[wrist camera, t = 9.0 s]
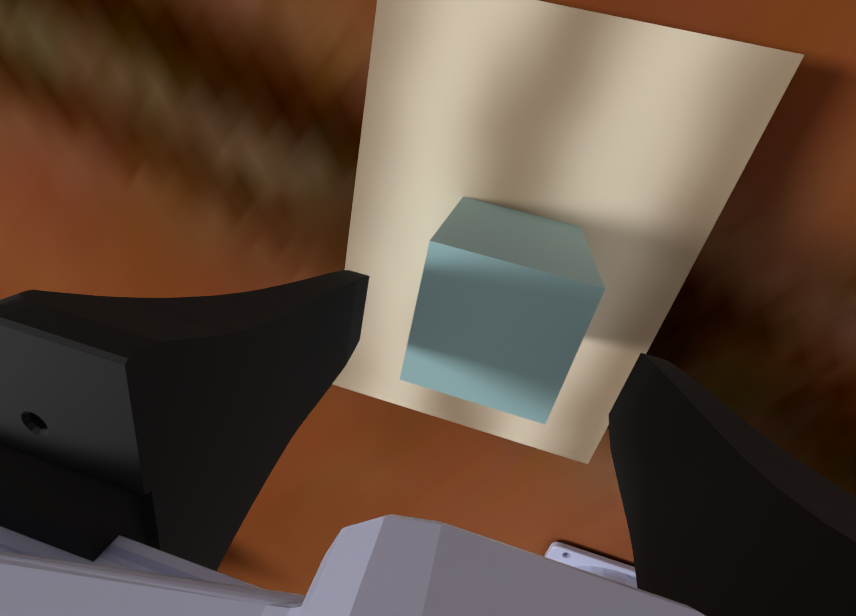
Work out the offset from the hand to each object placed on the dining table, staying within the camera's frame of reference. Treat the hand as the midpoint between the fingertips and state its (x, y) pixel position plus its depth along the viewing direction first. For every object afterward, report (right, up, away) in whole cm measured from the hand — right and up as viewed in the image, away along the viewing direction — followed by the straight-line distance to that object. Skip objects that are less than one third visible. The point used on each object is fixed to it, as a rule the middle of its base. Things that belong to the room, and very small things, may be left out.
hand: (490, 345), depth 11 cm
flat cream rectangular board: (+2, +4, +8) cm, 10 cm away
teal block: (+1, +3, +6) cm, 7 cm away
